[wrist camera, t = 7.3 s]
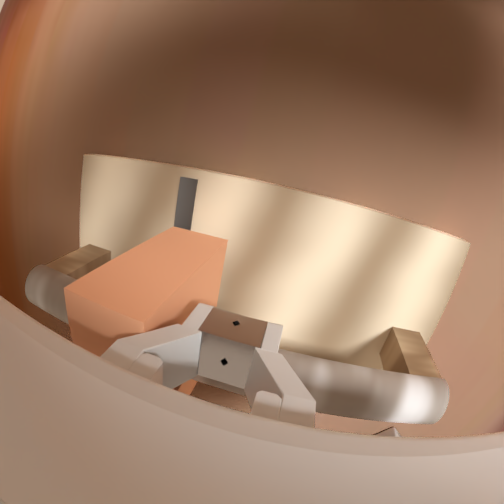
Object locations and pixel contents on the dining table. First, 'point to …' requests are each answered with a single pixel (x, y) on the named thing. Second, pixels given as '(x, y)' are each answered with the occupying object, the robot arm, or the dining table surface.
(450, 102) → the dining table surface
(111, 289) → the bridge block
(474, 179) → the dining table surface
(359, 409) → the pipe stand
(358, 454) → the robot arm
